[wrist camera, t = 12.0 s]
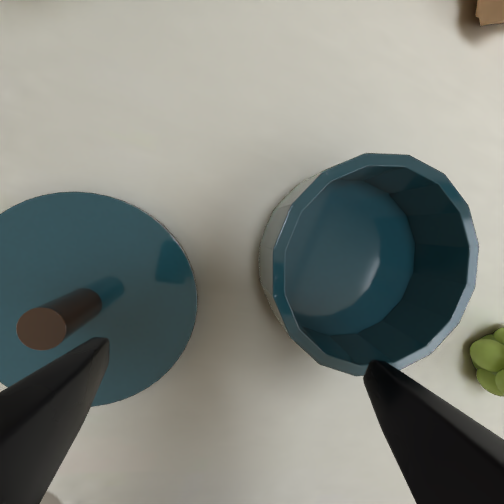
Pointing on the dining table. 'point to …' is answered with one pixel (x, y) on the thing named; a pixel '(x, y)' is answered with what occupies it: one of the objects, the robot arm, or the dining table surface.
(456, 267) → the teal round bowl
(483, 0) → the squash
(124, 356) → the lid
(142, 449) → the dining table surface
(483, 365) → the grapes
